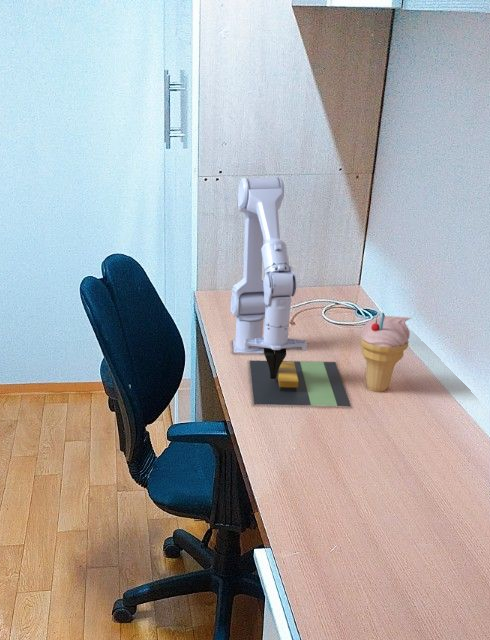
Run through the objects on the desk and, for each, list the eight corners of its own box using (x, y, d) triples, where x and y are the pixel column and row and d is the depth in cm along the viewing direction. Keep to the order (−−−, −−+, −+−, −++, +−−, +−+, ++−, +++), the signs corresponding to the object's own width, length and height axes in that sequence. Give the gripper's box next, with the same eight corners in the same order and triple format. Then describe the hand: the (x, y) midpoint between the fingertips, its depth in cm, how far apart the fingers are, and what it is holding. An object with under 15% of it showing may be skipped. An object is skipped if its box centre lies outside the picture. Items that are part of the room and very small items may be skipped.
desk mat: (249, 361, 189) (249, 360, 189) (334, 363, 189) (334, 362, 188) (254, 405, 167) (254, 404, 167) (350, 407, 166) (350, 406, 166)
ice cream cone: (401, 399, 170) (415, 316, 160) (353, 395, 172) (364, 312, 161) (399, 380, 179) (412, 301, 169) (353, 377, 181) (364, 297, 171)
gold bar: (275, 371, 183) (276, 361, 181) (293, 372, 183) (294, 361, 181) (278, 391, 173) (279, 381, 171) (297, 392, 173) (298, 381, 171)
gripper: (246, 328, 167) (243, 383, 174) (309, 329, 167) (304, 384, 174) (245, 318, 173) (242, 371, 180) (306, 319, 173) (301, 372, 180)
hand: (272, 377), depth 177 cm, fingers closed
